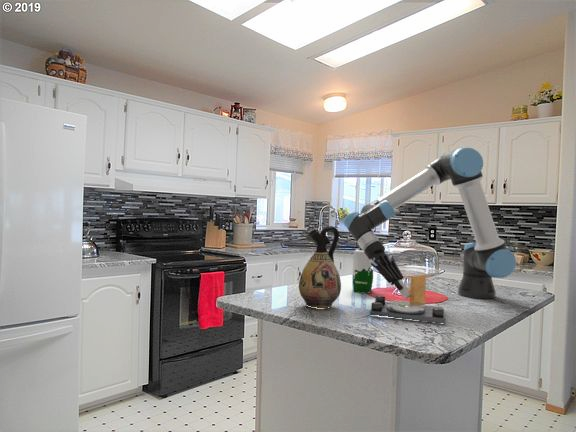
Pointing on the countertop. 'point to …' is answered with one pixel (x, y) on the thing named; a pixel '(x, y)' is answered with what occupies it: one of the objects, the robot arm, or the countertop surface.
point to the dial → (412, 298)
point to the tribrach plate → (429, 315)
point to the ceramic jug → (321, 272)
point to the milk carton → (362, 272)
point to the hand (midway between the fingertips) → (408, 296)
